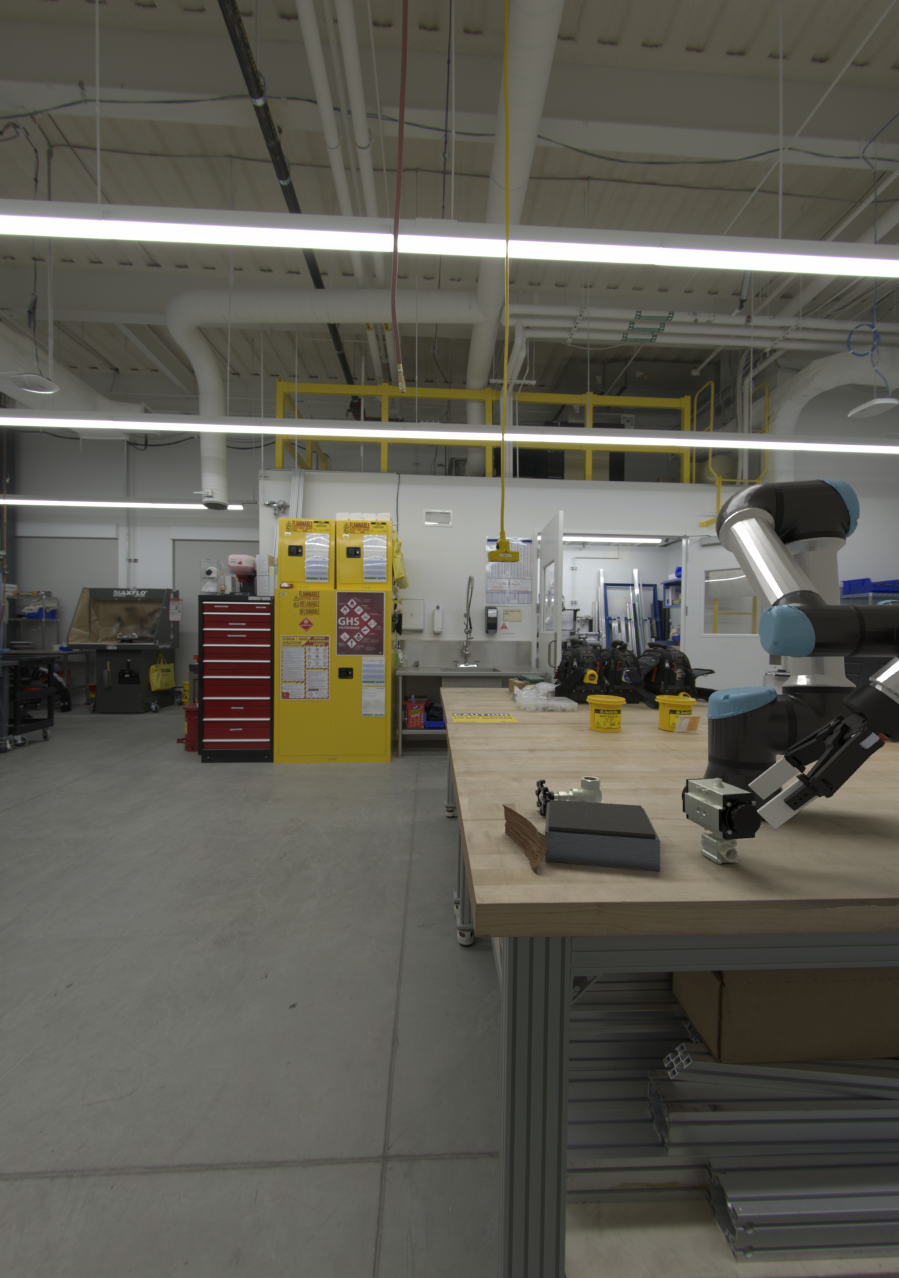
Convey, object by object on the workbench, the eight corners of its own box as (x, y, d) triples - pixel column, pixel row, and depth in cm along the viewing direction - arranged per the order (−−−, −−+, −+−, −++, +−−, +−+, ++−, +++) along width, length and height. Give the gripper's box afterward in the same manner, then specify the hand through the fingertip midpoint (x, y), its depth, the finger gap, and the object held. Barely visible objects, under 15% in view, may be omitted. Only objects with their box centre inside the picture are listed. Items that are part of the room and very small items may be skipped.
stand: (643, 834, 86) (643, 804, 86) (660, 871, 72) (659, 835, 72) (547, 827, 89) (547, 798, 89) (545, 861, 75) (545, 827, 75)
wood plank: (497, 833, 86) (497, 804, 86) (508, 832, 87) (508, 803, 87) (535, 873, 72) (535, 838, 72) (548, 871, 72) (548, 836, 72)
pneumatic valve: (706, 842, 82) (706, 768, 82) (763, 875, 71) (762, 789, 71) (675, 845, 81) (675, 769, 81) (727, 878, 70) (727, 791, 70)
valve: (594, 807, 100) (535, 809, 99) (594, 773, 100) (535, 775, 99) (608, 818, 94) (544, 820, 93) (608, 782, 94) (544, 784, 93)
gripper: (967, 740, 53) (798, 860, 60) (888, 711, 76) (772, 801, 82) (900, 688, 56) (745, 809, 62) (843, 675, 78) (733, 765, 84)
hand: (760, 805), depth 72 cm, fingers open, 13 cm apart
